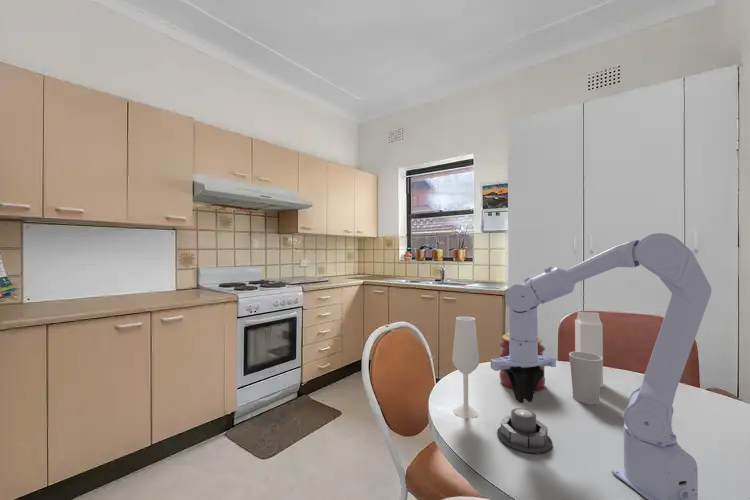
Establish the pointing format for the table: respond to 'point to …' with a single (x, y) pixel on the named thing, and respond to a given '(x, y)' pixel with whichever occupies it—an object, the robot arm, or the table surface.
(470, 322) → the champagne flute
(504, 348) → the canister
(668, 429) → the robot arm
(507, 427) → the socket
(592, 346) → the milk
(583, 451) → the table surface
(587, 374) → the cup
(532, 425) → the cap
